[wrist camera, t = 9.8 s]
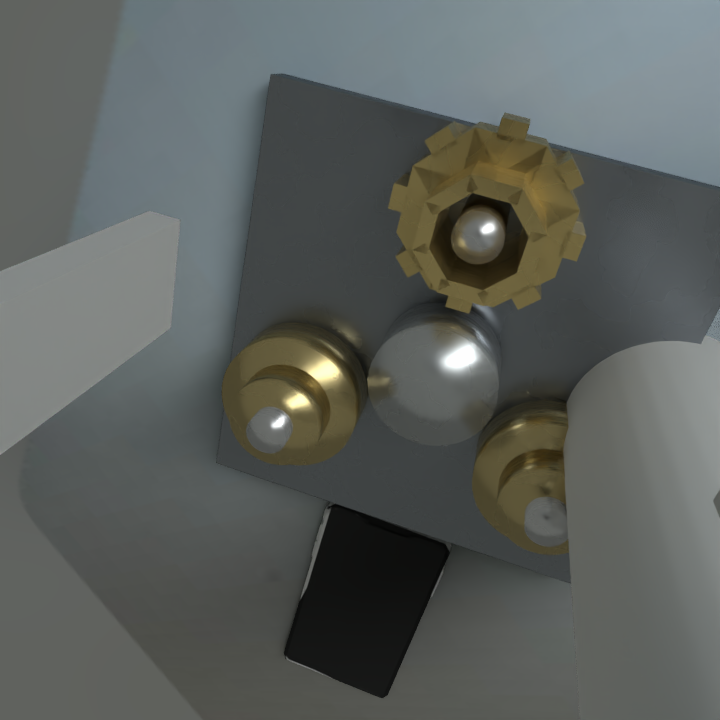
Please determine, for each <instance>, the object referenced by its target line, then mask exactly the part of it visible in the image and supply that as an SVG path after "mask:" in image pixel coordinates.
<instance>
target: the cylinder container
mask: <svg viewBox="0 0 720 720" xmlns="http://www.w3.org/2000/svg"><path fill="white" fill-rule="evenodd" d="M567 415H568V427H569V428H568V431H567V434H566V438H565V442H564V448H563V455H564V471H565V494H566V510H567V526H568V542H569V558H570V574H571V590H572V606H573V623H574V639H575V655H576V671H577V687H578V703H579V719H580V720H720V518H719V515H718V513H717V510H716V507H715V505H714V502H713V500H714V498H715V496H716V495H717V493H718V491H719V490H720V342H719V341H717V340H716V339H713V338H711V337H709V336H706V335H705V337H704V339H703V341H702V343H701V344H697V343H691V342H683V341H658V342H651V343H646V344H641V345H637V346H633V347H630V348H627V349H625V350H622V351H620V352H617V353H615V354H613V355H611V356H610V357H608V358H606V359H604V360H603V361H601V362H600V363H598V364H597V365H596V366H594V367H593V368H592V369H591V370H590V371H589V372H587V373H586V374H585V375H584V376H583V378H582V379H581V380H580V381H579V382H578V384H577V385H576V386H575V388H574V389H573V391H572V393H571V394H570V397H569V399H568V401H567Z"/></svg>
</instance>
